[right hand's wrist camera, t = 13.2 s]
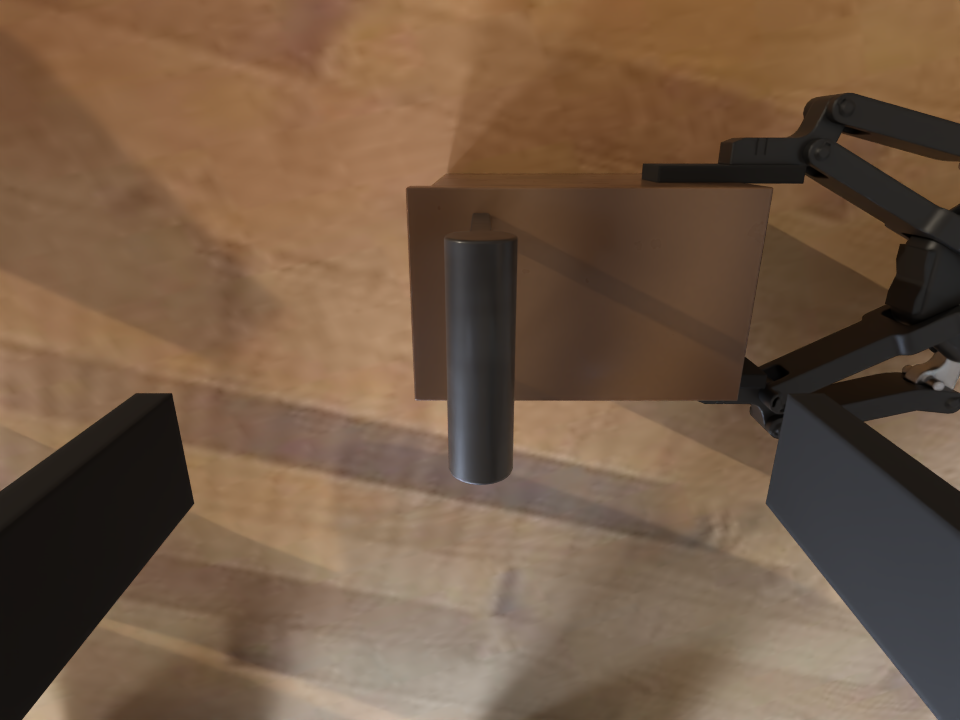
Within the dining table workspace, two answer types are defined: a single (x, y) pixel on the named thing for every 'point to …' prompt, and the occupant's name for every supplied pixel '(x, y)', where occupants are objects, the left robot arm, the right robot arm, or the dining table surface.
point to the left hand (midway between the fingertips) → (639, 278)
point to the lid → (576, 300)
